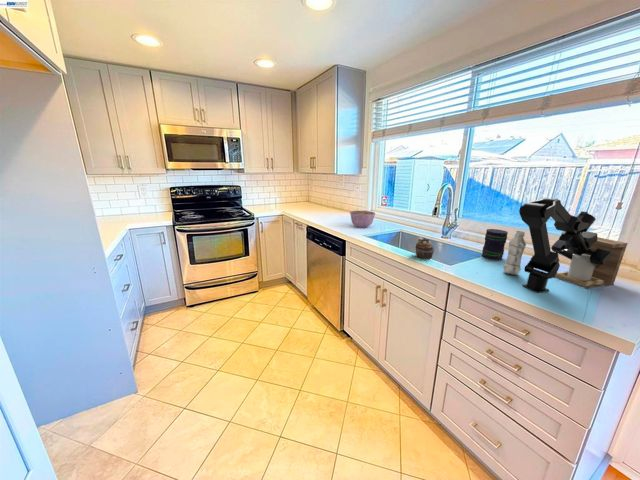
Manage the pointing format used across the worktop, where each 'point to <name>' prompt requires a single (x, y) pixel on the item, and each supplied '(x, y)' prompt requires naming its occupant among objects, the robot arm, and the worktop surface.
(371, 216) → the bowl of food
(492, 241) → the storage jar
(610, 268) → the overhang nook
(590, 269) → the can
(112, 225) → the worktop surface
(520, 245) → the plastic bottle
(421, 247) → the cupcake
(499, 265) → the worktop surface
